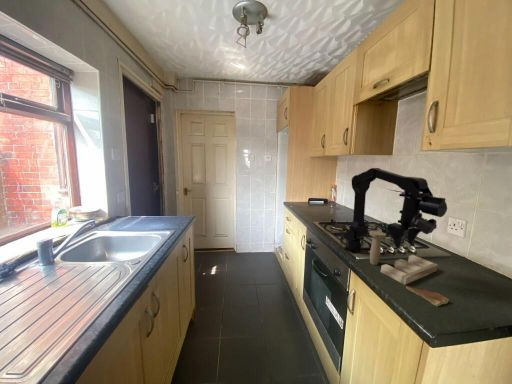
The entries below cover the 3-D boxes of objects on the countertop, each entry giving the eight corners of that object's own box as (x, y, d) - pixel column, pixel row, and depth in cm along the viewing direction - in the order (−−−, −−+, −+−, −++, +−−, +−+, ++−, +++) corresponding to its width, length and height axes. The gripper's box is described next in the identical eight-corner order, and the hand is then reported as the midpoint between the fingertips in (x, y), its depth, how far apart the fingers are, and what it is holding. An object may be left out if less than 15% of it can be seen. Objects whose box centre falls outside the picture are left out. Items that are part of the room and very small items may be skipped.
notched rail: (380, 272, 93) (381, 265, 92) (411, 260, 103) (412, 254, 103) (405, 284, 84) (406, 277, 83) (436, 270, 95) (437, 264, 94)
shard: (404, 288, 82) (405, 284, 82) (418, 285, 85) (419, 281, 84) (435, 308, 72) (436, 303, 72) (450, 303, 75) (451, 298, 74)
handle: (381, 267, 96) (386, 236, 93) (365, 264, 99) (369, 233, 96) (381, 263, 100) (385, 232, 97) (366, 259, 103) (369, 230, 101)
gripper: (421, 218, 74) (413, 259, 77) (447, 212, 83) (438, 250, 86) (389, 209, 84) (382, 246, 87) (415, 205, 92) (408, 239, 95)
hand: (404, 245), depth 88 cm, fingers open, 9 cm apart
